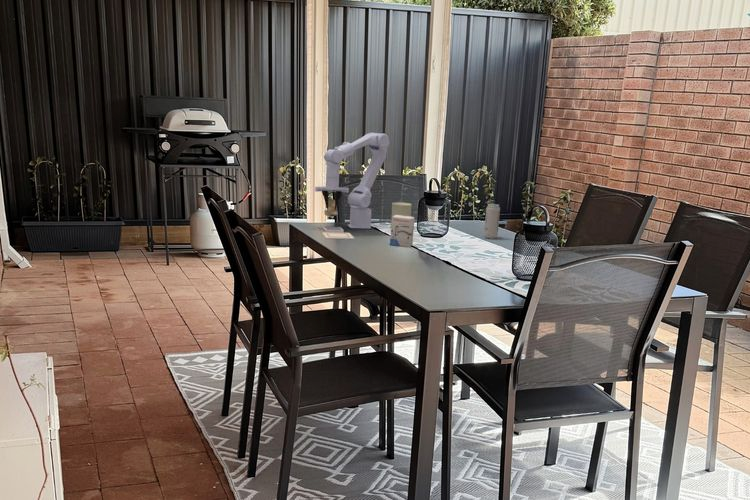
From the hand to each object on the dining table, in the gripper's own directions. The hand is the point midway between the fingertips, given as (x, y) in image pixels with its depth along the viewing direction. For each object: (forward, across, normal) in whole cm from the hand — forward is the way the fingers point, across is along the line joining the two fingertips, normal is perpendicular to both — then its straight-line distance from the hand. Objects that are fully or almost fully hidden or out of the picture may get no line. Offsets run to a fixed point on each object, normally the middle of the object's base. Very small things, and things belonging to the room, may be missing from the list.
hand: (331, 208), depth 297 cm
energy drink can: (+10, -70, +14) cm, 72 cm away
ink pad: (+9, -1, +3) cm, 10 cm away
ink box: (+10, -24, +33) cm, 42 cm away
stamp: (+3, 0, 0) cm, 3 cm away
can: (+10, -34, -6) cm, 36 cm away
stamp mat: (+9, -1, +16) cm, 18 cm away
